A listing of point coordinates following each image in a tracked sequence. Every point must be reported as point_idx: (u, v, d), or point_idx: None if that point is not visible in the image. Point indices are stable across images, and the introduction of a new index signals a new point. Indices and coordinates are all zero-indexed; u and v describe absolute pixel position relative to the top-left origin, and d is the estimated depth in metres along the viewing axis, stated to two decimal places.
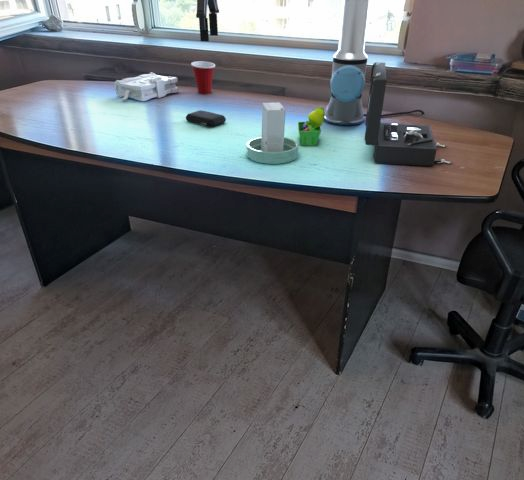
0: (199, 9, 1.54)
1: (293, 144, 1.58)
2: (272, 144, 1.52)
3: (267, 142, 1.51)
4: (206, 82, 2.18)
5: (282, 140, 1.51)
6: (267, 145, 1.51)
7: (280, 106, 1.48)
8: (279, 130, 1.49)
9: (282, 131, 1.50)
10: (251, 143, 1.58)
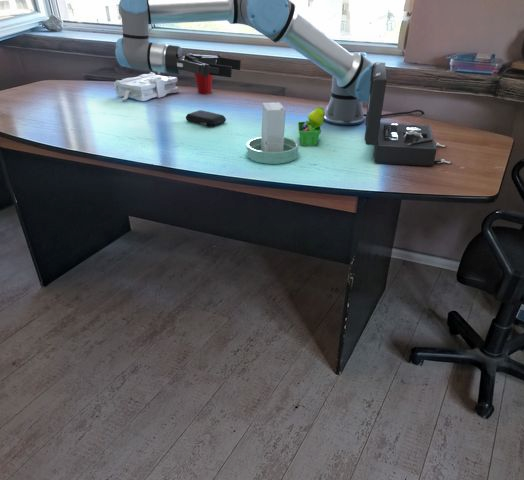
0: (198, 70, 1.38)
1: (293, 144, 1.58)
2: (272, 144, 1.52)
3: (267, 142, 1.51)
4: (206, 82, 2.18)
5: (282, 140, 1.51)
6: (267, 145, 1.51)
7: (280, 106, 1.48)
8: (279, 130, 1.49)
9: (282, 131, 1.50)
10: (251, 143, 1.58)
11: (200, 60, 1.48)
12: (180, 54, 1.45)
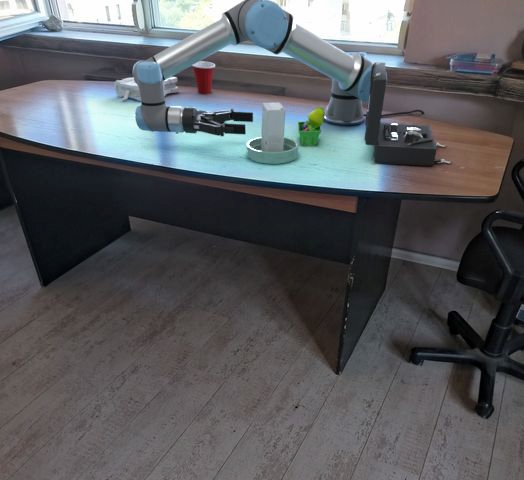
0: (214, 131, 1.46)
1: (293, 144, 1.58)
2: (272, 144, 1.52)
3: (267, 142, 1.51)
4: (206, 82, 2.18)
5: (282, 140, 1.51)
6: (267, 145, 1.51)
7: (280, 106, 1.48)
8: (279, 130, 1.49)
9: (282, 131, 1.50)
10: (251, 143, 1.58)
11: (214, 117, 1.56)
12: (196, 114, 1.54)
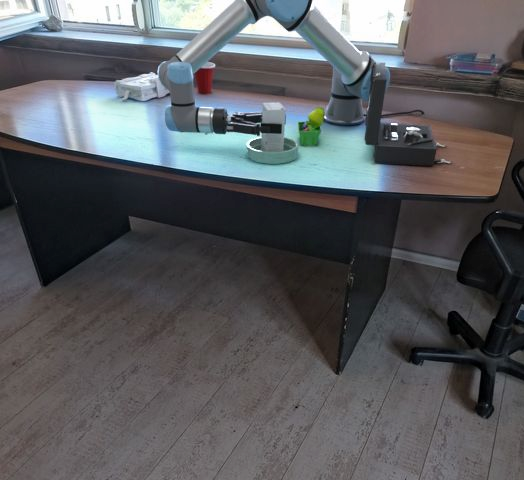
0: (251, 131, 1.46)
1: (293, 144, 1.58)
2: (272, 144, 1.52)
3: (267, 142, 1.51)
4: (206, 82, 2.18)
5: (282, 140, 1.51)
6: (267, 145, 1.51)
7: (280, 106, 1.48)
8: None
9: (282, 131, 1.50)
10: (251, 143, 1.58)
11: (245, 119, 1.54)
12: (226, 115, 1.52)
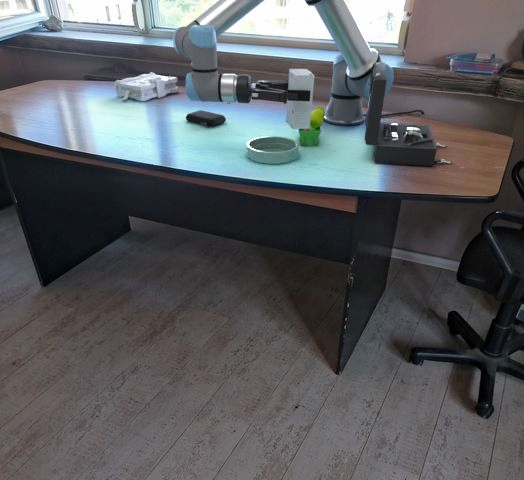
0: (277, 98, 1.38)
1: (293, 144, 1.58)
2: (299, 113, 1.43)
3: (294, 111, 1.42)
4: None
5: (310, 109, 1.43)
6: (294, 114, 1.43)
7: (308, 72, 1.39)
8: None
9: (310, 99, 1.41)
10: (251, 143, 1.58)
11: (270, 87, 1.45)
12: (250, 83, 1.44)
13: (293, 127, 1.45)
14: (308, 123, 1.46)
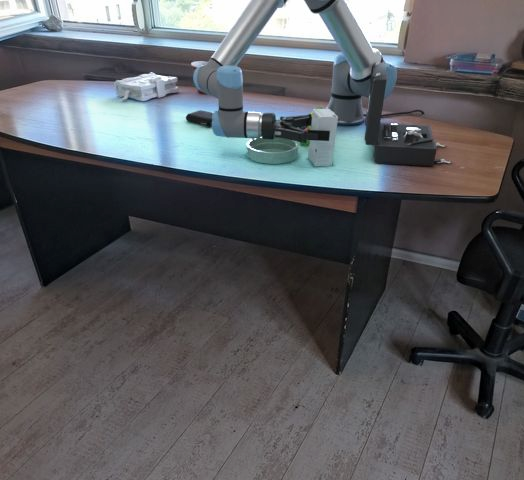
0: (298, 138, 1.41)
1: (293, 144, 1.58)
2: (322, 152, 1.48)
3: (317, 149, 1.47)
4: None
5: (332, 147, 1.48)
6: (317, 152, 1.48)
7: (332, 113, 1.44)
8: (330, 137, 1.45)
9: (333, 138, 1.46)
10: (251, 143, 1.58)
11: (293, 123, 1.50)
12: (274, 120, 1.48)
13: (316, 164, 1.50)
14: (330, 160, 1.50)
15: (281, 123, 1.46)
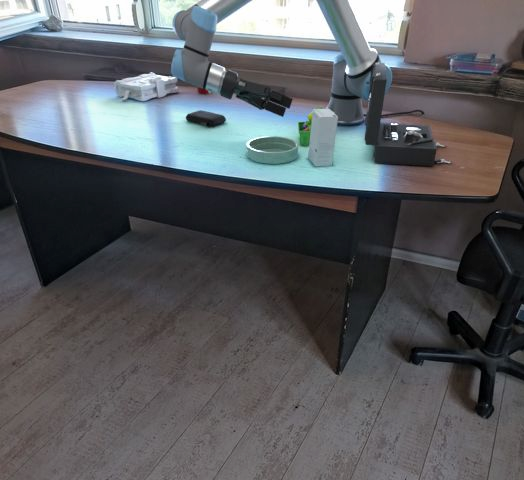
0: (263, 91, 1.39)
1: (293, 144, 1.58)
2: (322, 152, 1.48)
3: (317, 149, 1.47)
4: None
5: (332, 147, 1.48)
6: (317, 152, 1.48)
7: (332, 113, 1.44)
8: (330, 137, 1.45)
9: (333, 138, 1.46)
10: (251, 143, 1.58)
11: None
12: None
13: (316, 164, 1.50)
14: (330, 160, 1.50)
15: None
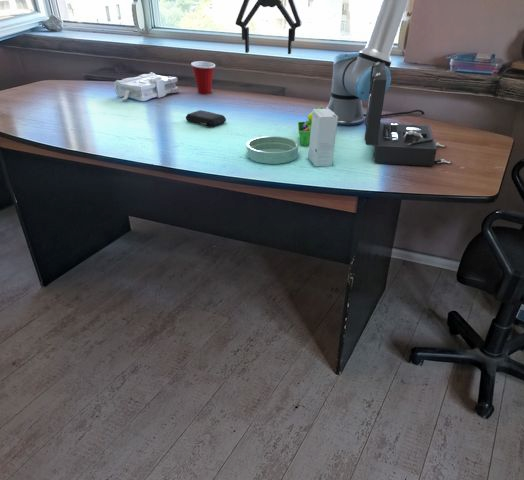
0: (299, 19, 1.46)
1: (293, 144, 1.58)
2: (322, 152, 1.48)
3: (317, 149, 1.47)
4: (206, 82, 2.18)
5: (332, 147, 1.48)
6: (317, 152, 1.48)
7: (332, 113, 1.44)
8: (330, 137, 1.45)
9: (333, 138, 1.46)
10: (251, 143, 1.58)
11: None
12: None
13: (316, 164, 1.50)
14: (330, 161, 1.50)
15: None
